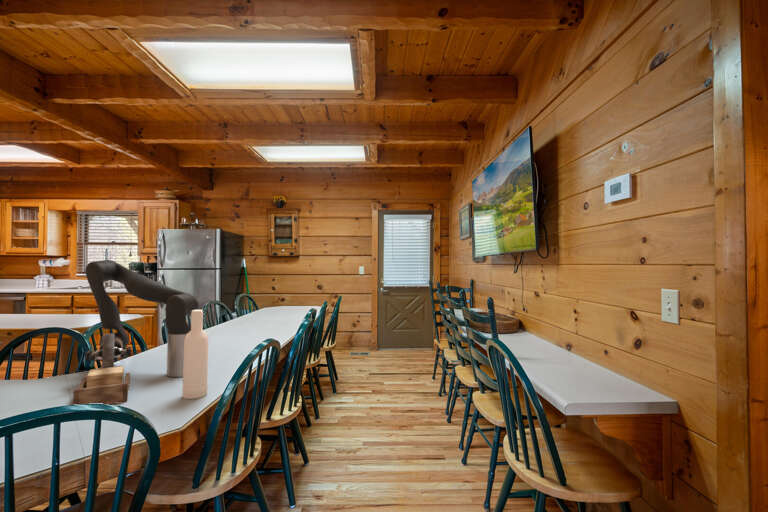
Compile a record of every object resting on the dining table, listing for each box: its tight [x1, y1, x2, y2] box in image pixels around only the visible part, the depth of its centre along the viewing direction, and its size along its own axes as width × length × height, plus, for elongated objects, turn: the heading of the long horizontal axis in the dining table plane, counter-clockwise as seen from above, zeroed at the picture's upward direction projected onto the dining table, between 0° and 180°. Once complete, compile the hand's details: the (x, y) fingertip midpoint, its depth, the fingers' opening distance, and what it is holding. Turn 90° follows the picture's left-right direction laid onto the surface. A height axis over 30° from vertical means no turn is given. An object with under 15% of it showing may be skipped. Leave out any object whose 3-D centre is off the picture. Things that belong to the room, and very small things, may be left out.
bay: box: [72, 372, 131, 405], centre depth 131 cm, size 14×20×6 cm
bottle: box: [181, 309, 210, 400], centre depth 133 cm, size 8×8×30 cm
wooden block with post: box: [86, 333, 125, 388], centre depth 137 cm, size 10×13×18 cm
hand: (107, 357), depth 140 cm, fingers open, 8 cm apart
